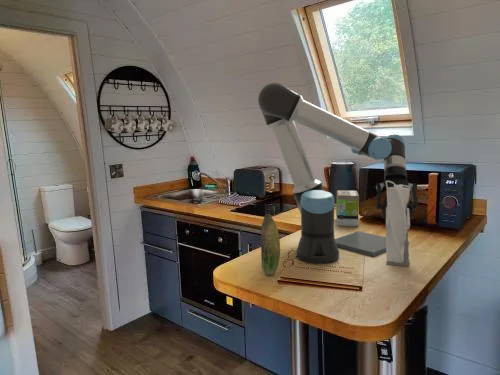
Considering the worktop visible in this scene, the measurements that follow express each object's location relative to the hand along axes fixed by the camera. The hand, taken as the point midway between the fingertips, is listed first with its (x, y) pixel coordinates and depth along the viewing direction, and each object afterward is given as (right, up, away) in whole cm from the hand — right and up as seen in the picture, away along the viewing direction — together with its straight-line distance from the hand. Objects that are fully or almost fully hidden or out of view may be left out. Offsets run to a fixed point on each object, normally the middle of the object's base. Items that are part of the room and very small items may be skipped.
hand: (397, 226), depth 127 cm
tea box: (-2, -4, +60) cm, 60 cm away
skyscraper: (+1, -13, +6) cm, 14 cm away
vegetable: (-42, -16, -3) cm, 45 cm away
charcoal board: (-3, -10, +25) cm, 27 cm away
